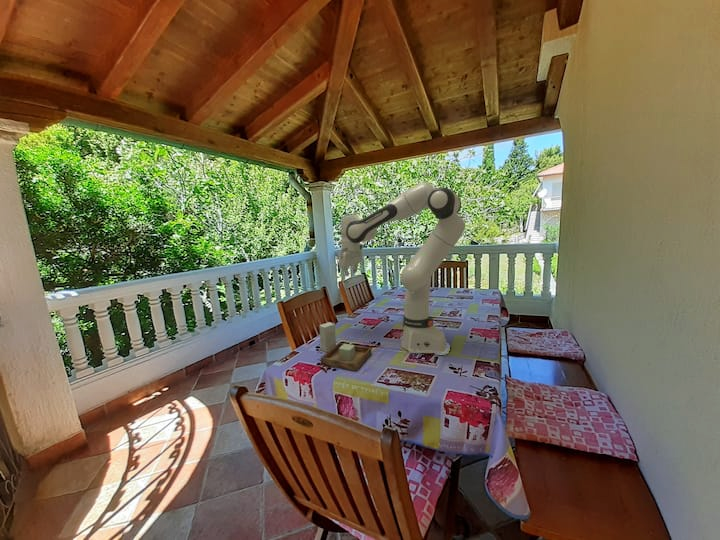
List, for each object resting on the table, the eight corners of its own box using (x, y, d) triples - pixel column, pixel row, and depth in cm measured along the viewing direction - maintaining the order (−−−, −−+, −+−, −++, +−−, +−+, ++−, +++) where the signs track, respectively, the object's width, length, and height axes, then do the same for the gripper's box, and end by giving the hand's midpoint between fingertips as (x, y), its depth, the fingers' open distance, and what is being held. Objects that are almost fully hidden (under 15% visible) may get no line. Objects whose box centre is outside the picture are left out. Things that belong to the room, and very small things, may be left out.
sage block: (355, 356, 123) (354, 345, 122) (349, 361, 119) (349, 350, 118) (344, 354, 125) (344, 343, 125) (339, 359, 121) (338, 348, 120)
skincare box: (330, 345, 136) (329, 321, 134) (336, 348, 133) (335, 323, 131) (320, 350, 132) (318, 325, 130) (326, 352, 129) (324, 327, 127)
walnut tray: (371, 354, 126) (371, 347, 126) (356, 371, 112) (356, 364, 111) (339, 348, 133) (339, 342, 132) (321, 364, 118) (320, 357, 118)
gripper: (346, 249, 135) (347, 278, 137) (363, 245, 153) (364, 271, 155) (334, 249, 137) (335, 277, 140) (353, 245, 156) (353, 270, 158)
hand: (351, 274), depth 148 cm, fingers open, 8 cm apart
